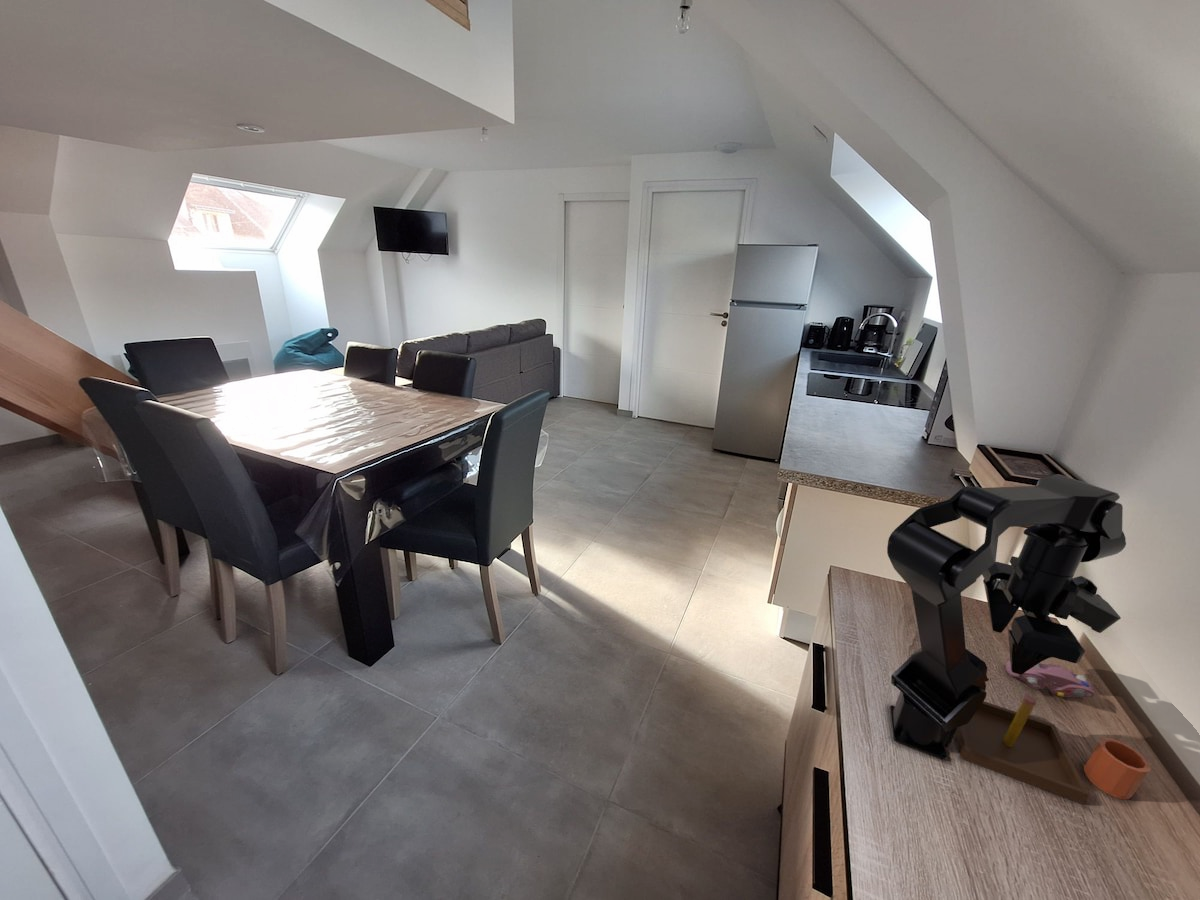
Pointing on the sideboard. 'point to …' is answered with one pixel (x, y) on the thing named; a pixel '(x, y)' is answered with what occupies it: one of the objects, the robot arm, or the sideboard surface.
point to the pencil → (1019, 720)
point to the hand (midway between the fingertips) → (1005, 650)
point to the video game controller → (1055, 680)
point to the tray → (1021, 751)
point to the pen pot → (1116, 768)
